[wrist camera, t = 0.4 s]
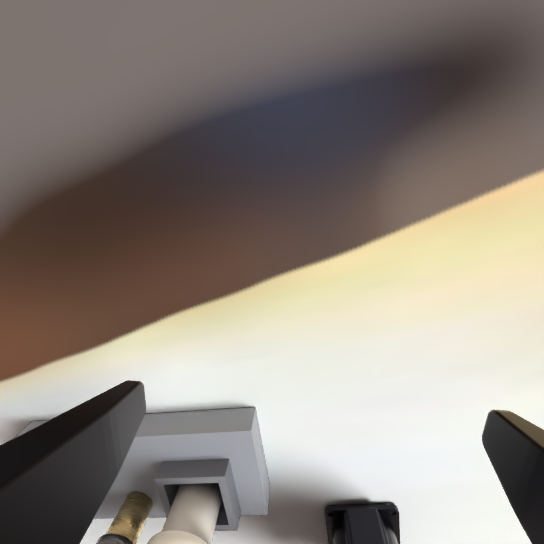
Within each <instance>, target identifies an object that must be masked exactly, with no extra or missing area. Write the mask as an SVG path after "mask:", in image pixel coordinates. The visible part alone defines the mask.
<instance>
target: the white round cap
mask: <svg viewBox="0 0 544 544" xmlns="http://www.w3.org/2000/svg"><path fill="white" fill-rule="evenodd" d="M221 500H222V495H221V491H220V486H219V485H218V484H217V483H198V484H180V486H179V488H178V491H177V494H176V496H175V499H174V501H173V504H172V506H171V509H170V512H169V514H168V517H167V519H166V522H165V525H164V527H163V530H162V532H160V533H158V534H156V535H154V536H153V537H152V538H151V539H150V540H149V542H148V544H211V543H212V538H213V534H214V530H215V526H216V521H217V517H218V513H219V509H220V504H221Z"/></svg>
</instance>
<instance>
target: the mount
mask: <svg viewBox="0 0 544 544" xmlns="http://www.w3.org/2000/svg"><path fill="white" fill-rule="evenodd" d="M47 421H49V420H43V421H32V422H31V423H30V424H29V425H28V426H26V427H25V428H24V429H23V430H22V431H21V432H20V433H19V434H17V435H16V436H15V437H14V438H16V437H18V436H20V435H22V434H24V433H26V432H28V431H30V430H32V429H33V428H35V427H37V426H39V425H41V424H43V423H45V422H47ZM14 438H13V439H14ZM198 483H217V484H218V485H219V486H220V491H221V495H222V500H221V504H220V509H219V513H218V517H217V521H216V526H215V530H214V531H226V530H238V525H239V519H240V516H251V515H268V505H269V493H270V483H269V478H268V472H267V467H266V462H265V456H264V451H263V446H262V440H261V435H260V429H259V424H258V419H257V413H256V408H255V407H250V408H234V409H218V410H202V411H186V412H170V413H154V414H145V415H144V418H143V420H142V422H141V425H140V427H139V429H138V431H137V434H136V436H135V438H134V440H133V443H132V445H131V447H130V449H129V452H128V454H127V456H126V458H125V460H124V463H123V465H122V467H121V469H120V471H119V473H118V475H117V477H116V479H115V481H114V483H113V485H112V486H111V488H110V490H109V492H108V494H107V495H106V497H105V499H104V501H103V503H102V504H101V506H100V508H99V510H98V511H97V513H96V515H95V517H94V519H107V518H115V517H116V515H117V513H118V511H119V509H120V508H121V506H122V504H123V502H124V500H125V498H126V497H127V495H128V494H129V493H131V492H134V491H139V492H143V493H145V494H147V495H148V496H149V497H150V498H151V499H152V501H153V507H152V509H151V511H150V513H149V516H148V518H155V517H168V514H169V512H170V509H171V506H172V504H173V501H174V499H175V496H176V494H177V491H178V488H179V486H180V484H198Z"/></svg>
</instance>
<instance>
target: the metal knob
mask: <svg viewBox="0 0 544 544" xmlns="http://www.w3.org/2000/svg"><path fill="white" fill-rule="evenodd" d="M152 507H153V501H152V499H151V498H150V497H149V496H148V495H147V494H145V493H143V492H139V491H134V492H131V493H129V494H128V495H127V497H126V498H125V500H124V502H123V504H122V506H121V508H120V509H119V511H118V513H117V515H116V517H115V519H114V520H113V522H112V524H111V526H110V528H109V530H108V531H107V533H106V534H105V535H103V536H101V537H100V538H99V540H98V541H97V543H96V544H136V542H137V540H138V538H139V536H140V533H141V531H142V529H143V527H144V524H145V522H146V520H147V518H148V516H149V513H150V511H151V509H152Z"/></svg>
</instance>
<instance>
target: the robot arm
mask: <svg viewBox="0 0 544 544" xmlns="http://www.w3.org/2000/svg"><path fill="white" fill-rule="evenodd" d="M145 411H146V402H145V392H144V385H143V383H142V382H140V381H125V382H123V383H121V384H119V385H117V386H115V387H113V388H111V389H109V390H107V391H106V392H104V393H102V394H100V395H98V396H96V397H94V398H92V399H90V400H88V401H86V402H84V403H82V404H80V405H78V406H76V407H74V408H72V409H70V410H69V411H67V412H65V413H63V414H61V415H59V416H57V417H55V418H53V419H51V420H49V421H47V422H45V423H43V424H41V425H39V426H37V427H35V428H33V429H32V430H30V431H28V432H26V433H24V434H22V435H20V436H18V437H16V438H14V439H12V440H10V441H8V442H6V443H4V444H2V445H0V544H79V543H80V542H81V540H82V538H83V536H84V535H85V533H86V531H87V529H88V527H89V526H90V524H91V522H92V520H93V519H94V517H95V515H96V513H97V511H98V510H99V508H100V506H101V504H102V503H103V501H104V499H105V497H106V495H107V494H108V492H109V490H110V488H111V486H112V485H113V483H114V481H115V479H116V477H117V475H118V473H119V471H120V469H121V467H122V465H123V463H124V460H125V458H126V456H127V454H128V452H129V449H130V447H131V445H132V443H133V440H134V438H135V436H136V434H137V431H138V429H139V427H140V425H141V422H142V420H143V418H144V415H145ZM482 442H483V446H484V448H485V450H486V452H487V455H488V457H489V459H490V461H491V463H492V465H493V467H494V470H495V472H496V474H497V476H498V478H499V480H500V482H501V485H502V487H503V489H504V491H505V493H506V495H507V497H508V499H509V502H510V504H511V506H512V508H513V510H514V512H515V514H516V516H517V518H518V519H519V521H520V523H521V525H522V527H523V529H524V530H525V532H526V534H527V536H528V537H529V539H530V541H531V543H532V544H544V430H543V429H541V428H539V427H537V426H536V425H534V424H532V423H530V422H529V421H527V420H525V419H523V418H521V417H520V416H518V415H516V414H514V413H513V412H510V411H505V410H491V411H490V412H489V413H488V416H487V420H486V424H485V427H484V431H483V434H482ZM325 517H326V525H327V533H328V541H329V544H400V529H399V512H398V508H397V506H396V505H392V504H390V505H348V506H327V507H326V508H325Z"/></svg>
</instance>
